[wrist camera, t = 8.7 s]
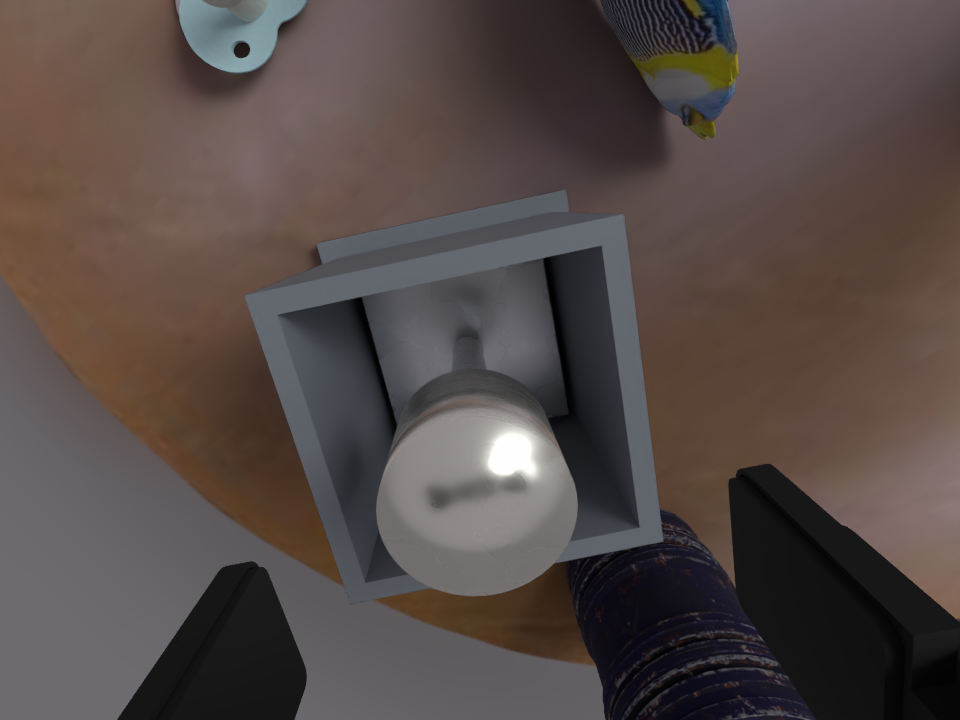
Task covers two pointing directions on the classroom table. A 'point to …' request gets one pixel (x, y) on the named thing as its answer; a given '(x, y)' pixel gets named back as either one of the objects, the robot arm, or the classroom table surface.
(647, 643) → the dark blue cylinder
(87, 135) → the classroom table surface
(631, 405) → the press housing
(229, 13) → the pacifier
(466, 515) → the plunger
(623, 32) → the tropical fish figurine
